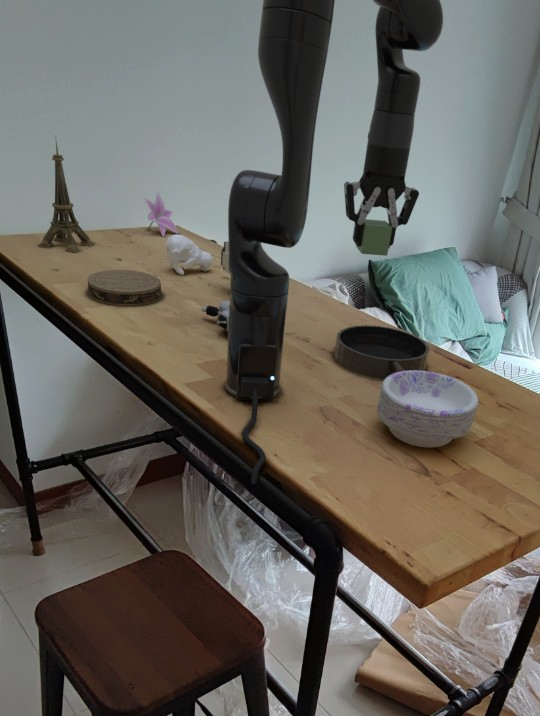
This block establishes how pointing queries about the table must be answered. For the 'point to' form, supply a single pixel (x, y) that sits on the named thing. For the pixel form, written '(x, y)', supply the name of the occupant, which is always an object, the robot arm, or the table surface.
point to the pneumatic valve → (225, 257)
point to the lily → (160, 215)
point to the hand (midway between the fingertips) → (372, 246)
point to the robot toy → (219, 313)
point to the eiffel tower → (63, 214)
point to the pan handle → (396, 367)
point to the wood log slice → (124, 287)
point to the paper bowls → (426, 407)
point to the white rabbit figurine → (186, 254)
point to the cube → (375, 237)
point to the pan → (379, 350)
